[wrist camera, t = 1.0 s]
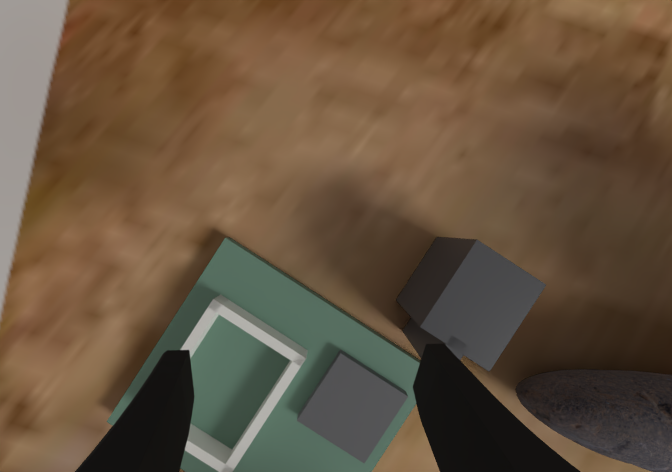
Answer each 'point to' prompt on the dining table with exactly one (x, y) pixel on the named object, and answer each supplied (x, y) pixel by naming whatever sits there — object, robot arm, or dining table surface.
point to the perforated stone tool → (607, 412)
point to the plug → (467, 300)
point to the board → (281, 374)
